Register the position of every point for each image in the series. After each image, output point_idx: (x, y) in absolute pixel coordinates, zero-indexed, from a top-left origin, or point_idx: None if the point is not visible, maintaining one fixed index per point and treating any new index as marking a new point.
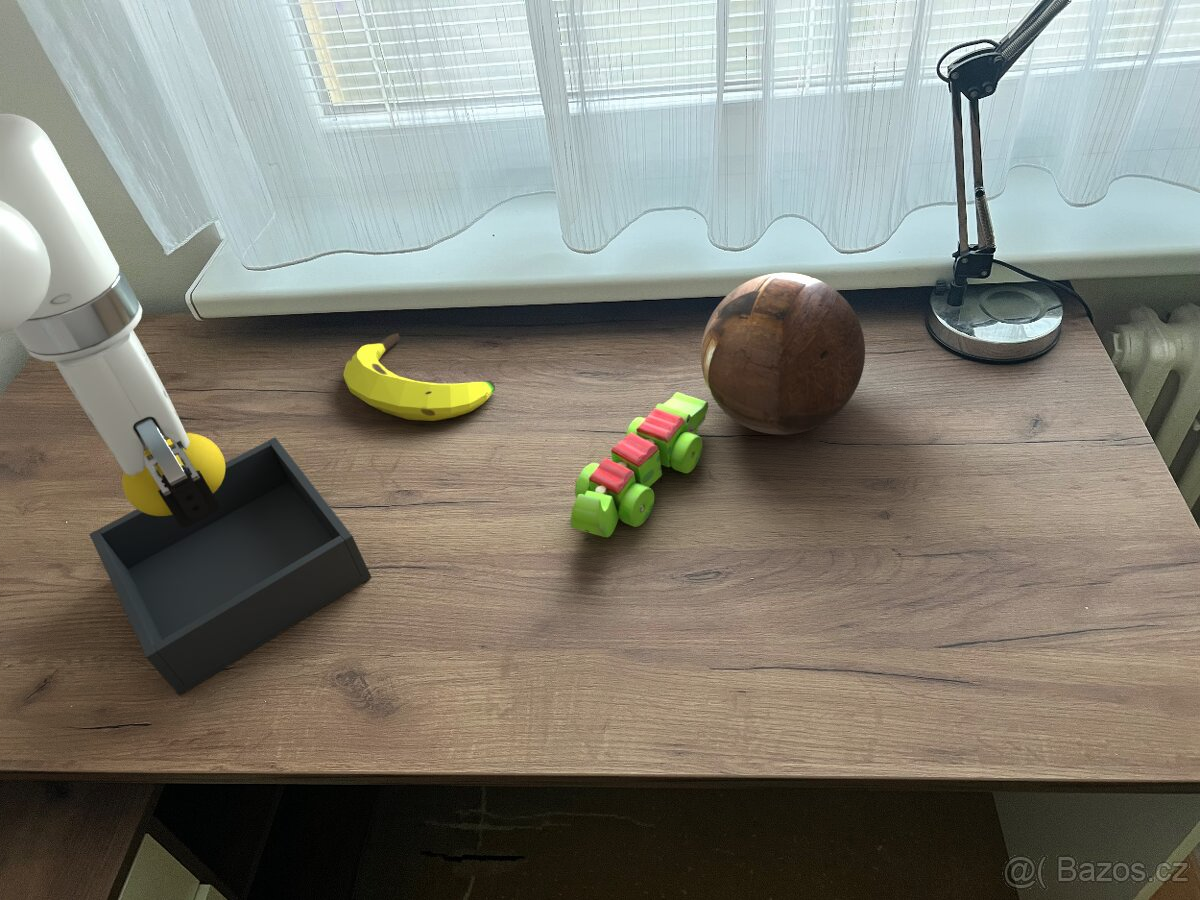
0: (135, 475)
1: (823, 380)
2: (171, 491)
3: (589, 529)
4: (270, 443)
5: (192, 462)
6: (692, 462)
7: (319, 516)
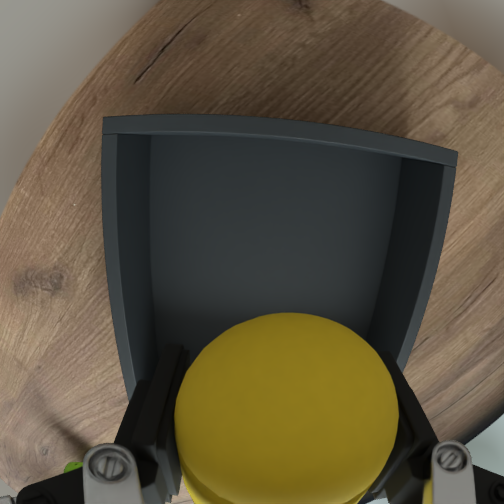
0: (252, 464)
1: None
2: (61, 474)
3: (71, 466)
4: None
5: None
6: None
7: None
